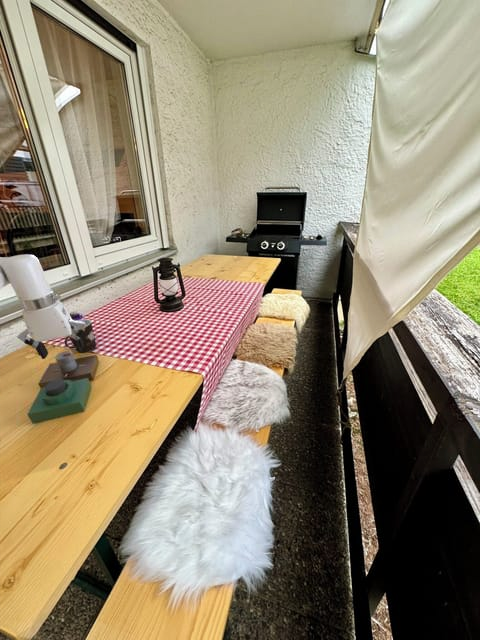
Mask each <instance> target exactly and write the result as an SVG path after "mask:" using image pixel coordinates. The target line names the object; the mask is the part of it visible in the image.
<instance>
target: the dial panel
mask: <svg viewBox="0 0 480 640" xmlns="http://www.w3.org/2000/svg"><path fill="white" fill-rule="evenodd" d="M74 359H75V361H76V364H77V367H76V368H75V369H74V370H72V371H70V372H66V373H64V372H62V371H61V370H60V367H59V365H58V363H57V362H52V363H49V364H48V366H47V367H46V369H45V371H44V373H43V375H42V376H41V379H40V380H39V382H38V386H39V388H40V389H41V388H43V387H46V385H47V384H48V383H50V382H51V381H54V380H57V379H63V380H70V381H76V380H81V379H86V378H88V379H89V382H92V381H94V380H95V378H96V374H97V370H98V367H99V363H100V360H99V358H98V356H97V354H94V355H88V356H83V357H82V356H81V357H77V358H74Z"/></svg>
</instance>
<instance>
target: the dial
mask: <svg viewBox="0 0 480 640" xmlns="http://www.w3.org/2000/svg"><path fill="white" fill-rule="evenodd" d="M54 359H55V361H56V363H58V365H59V367H60V370H61V371H62V372H64V373H66V372H70V371H72V370H74V369H75V368H76V367H77V364H76V361H75V359H76V358H75V357H74V355H73V352H72V351H70V350H65V351H61V352H59V353H58V354H56V355H55V357H54Z"/></svg>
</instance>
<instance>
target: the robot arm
mask: <svg viewBox="0 0 480 640" xmlns="http://www.w3.org/2000/svg"><path fill="white" fill-rule="evenodd" d="M8 285H11V287H12V290H13V291H14V293H15V295H16V297H17V299H18V301H19V302H20V304H21V307H22V309H21V312H22V317H23V321H24V324H25V326H26V328H25V330H23V331H22V332H20V333H19V334H18V335H17V339H18V340H20V341H21V342H23V343H24V344H25V345H28V346H30V347H31V348H32V349H35V350H36V352H37V354H38V356H40V358H41V359H42V360H45V359H46V358H47V357H48V355H49V351H48V349H47V347H46V344H45V343H44V342H45V341H51V340H56V339H57V340H58V339H62V338H66V337H67V336H69V337H71V338H73V339H75V340H74V343H75V345H76V348H77V350H78V351H77V350H76V351H77V353H79V352H81V351H82V348H83V347H84V343H83V341H82V339H81V336H82V334H83V333H84V331H85V326H86V323H85V322H80V321H75V320H72V319H71V317H70V313H69V311H68V310H67V308H66V307H65V305H64V303H62V301H61V298H62V297H61V294H59V293H58V294H55V291H53V290H52V287H51V285H50V283H49V281H48V278H47V276H46V273H45V272H44V269H43V267H42V265H41V263H40V260H39V259H38V257H36V256H35V255H34V254H27V253H26V254H18V255H13V256H5V257H2V256H0V290H1V289H3V288H4V287H6V286H8ZM75 326H77V327H79V328H80V330H79V332H78V331H76V330H74V328H75ZM28 335H30V337H29V336H28ZM76 348H75V349H76Z"/></svg>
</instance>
